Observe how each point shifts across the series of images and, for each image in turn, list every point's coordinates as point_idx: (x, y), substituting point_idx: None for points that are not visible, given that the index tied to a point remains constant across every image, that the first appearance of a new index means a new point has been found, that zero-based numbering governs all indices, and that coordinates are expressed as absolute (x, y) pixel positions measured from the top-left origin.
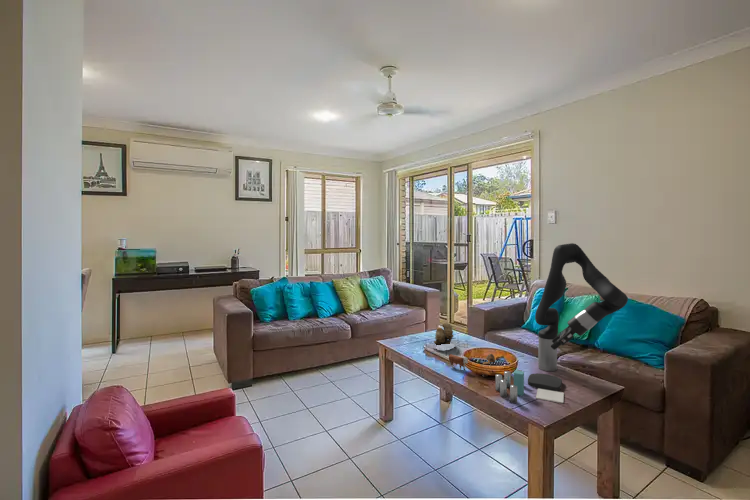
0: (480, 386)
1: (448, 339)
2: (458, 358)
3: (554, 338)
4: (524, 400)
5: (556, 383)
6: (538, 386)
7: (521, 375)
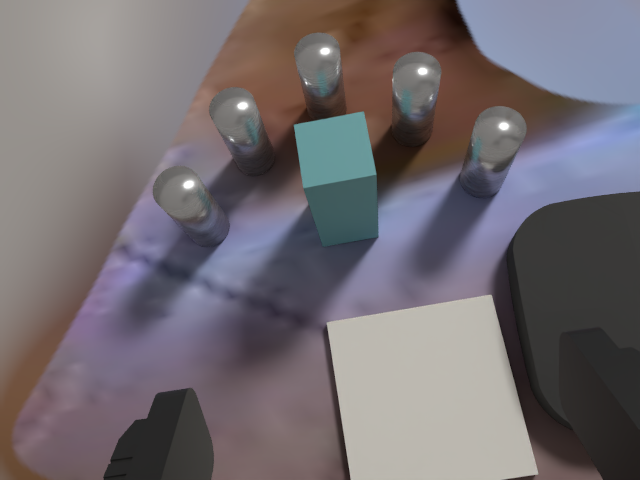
0: (313, 21)
1: None
2: None
3: (631, 370)
4: (261, 272)
5: None
6: (514, 291)
7: (302, 181)
